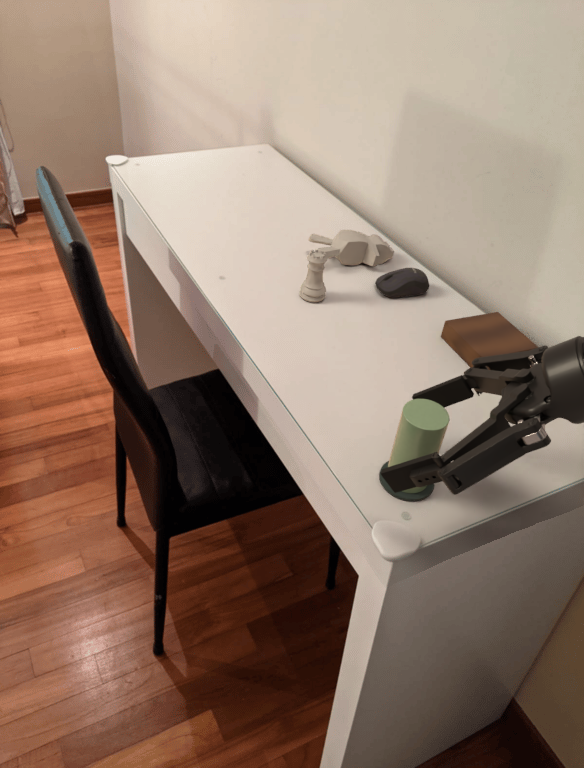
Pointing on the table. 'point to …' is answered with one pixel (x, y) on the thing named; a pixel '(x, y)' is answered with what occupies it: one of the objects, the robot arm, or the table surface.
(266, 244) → the table surface
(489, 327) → the walnut platform
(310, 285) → the rook chess piece
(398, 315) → the table surface
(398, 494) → the coaster
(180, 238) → the table surface
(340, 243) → the bunny figurine
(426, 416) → the green round cylinder
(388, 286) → the computer mouse
